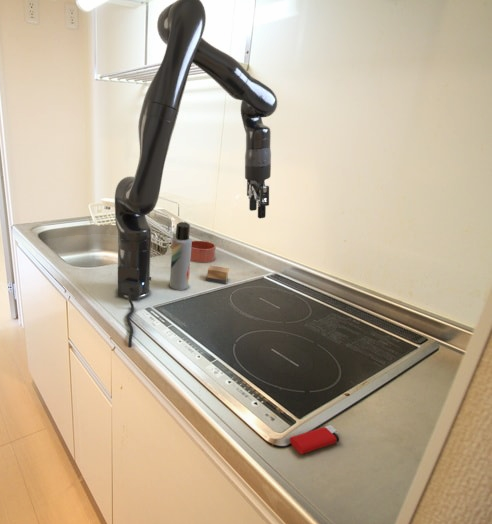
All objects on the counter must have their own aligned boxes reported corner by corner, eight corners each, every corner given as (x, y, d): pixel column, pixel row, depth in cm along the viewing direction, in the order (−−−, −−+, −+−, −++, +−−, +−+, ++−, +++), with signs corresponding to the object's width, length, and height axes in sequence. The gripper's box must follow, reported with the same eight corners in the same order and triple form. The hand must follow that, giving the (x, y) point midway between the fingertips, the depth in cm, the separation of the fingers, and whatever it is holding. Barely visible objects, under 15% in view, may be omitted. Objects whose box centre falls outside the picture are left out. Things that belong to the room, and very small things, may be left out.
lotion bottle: (187, 283, 114) (192, 221, 107) (188, 290, 109) (193, 226, 102) (169, 282, 114) (173, 220, 107) (169, 289, 109) (173, 225, 102)
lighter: (290, 435, 57) (329, 423, 59) (288, 441, 57) (327, 429, 60) (303, 449, 54) (343, 436, 57) (301, 455, 55) (342, 442, 57)
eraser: (227, 279, 118) (228, 268, 116) (225, 284, 114) (226, 272, 113) (209, 276, 120) (210, 265, 118) (206, 280, 116) (207, 269, 115)
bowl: (211, 264, 131) (212, 251, 129) (182, 259, 134) (183, 246, 132) (216, 255, 140) (218, 242, 138) (190, 251, 143) (191, 239, 142)
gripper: (239, 160, 117) (239, 209, 123) (252, 168, 104) (252, 222, 110) (262, 157, 116) (261, 206, 123) (278, 165, 103) (277, 219, 110)
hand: (257, 213), depth 117 cm, fingers open, 8 cm apart
